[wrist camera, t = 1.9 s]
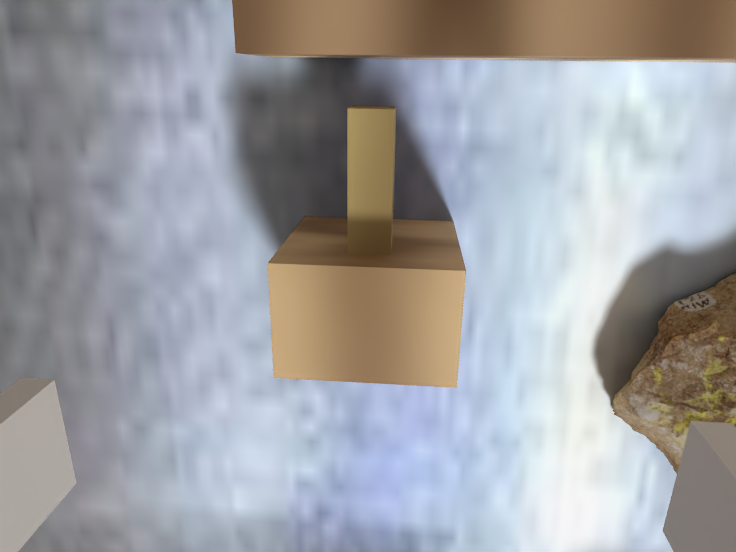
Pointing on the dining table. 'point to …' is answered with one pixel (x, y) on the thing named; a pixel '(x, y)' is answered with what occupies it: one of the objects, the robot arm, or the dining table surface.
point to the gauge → (368, 280)
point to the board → (489, 29)
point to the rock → (685, 371)
